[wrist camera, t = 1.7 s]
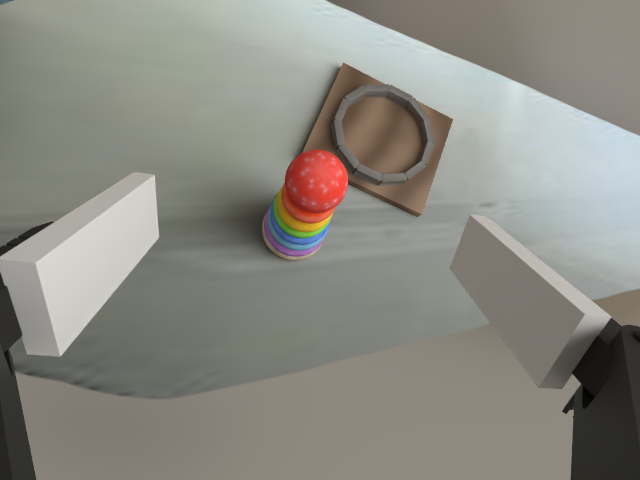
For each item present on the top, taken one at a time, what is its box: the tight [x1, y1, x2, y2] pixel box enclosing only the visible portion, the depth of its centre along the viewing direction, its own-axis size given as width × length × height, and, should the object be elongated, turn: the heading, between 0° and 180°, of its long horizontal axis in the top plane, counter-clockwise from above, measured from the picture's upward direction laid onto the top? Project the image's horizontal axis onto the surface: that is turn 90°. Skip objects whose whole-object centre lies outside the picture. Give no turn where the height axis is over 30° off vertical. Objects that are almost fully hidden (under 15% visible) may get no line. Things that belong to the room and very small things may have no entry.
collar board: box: [302, 63, 453, 217], centre depth 46 cm, size 18×16×3 cm
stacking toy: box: [262, 149, 348, 261], centre depth 34 cm, size 8×8×19 cm
